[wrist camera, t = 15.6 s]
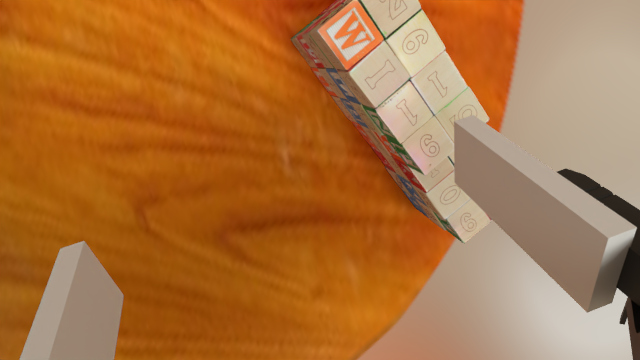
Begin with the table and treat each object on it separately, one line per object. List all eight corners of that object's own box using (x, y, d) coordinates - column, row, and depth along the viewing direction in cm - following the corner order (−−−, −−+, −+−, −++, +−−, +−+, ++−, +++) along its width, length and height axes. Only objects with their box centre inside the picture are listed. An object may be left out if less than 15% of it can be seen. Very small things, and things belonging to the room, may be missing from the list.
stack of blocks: (461, 171, 44) (546, 211, 32) (415, 209, 44) (484, 263, 32) (342, -8, 36) (398, -40, 25) (287, 38, 36) (316, 28, 25)
